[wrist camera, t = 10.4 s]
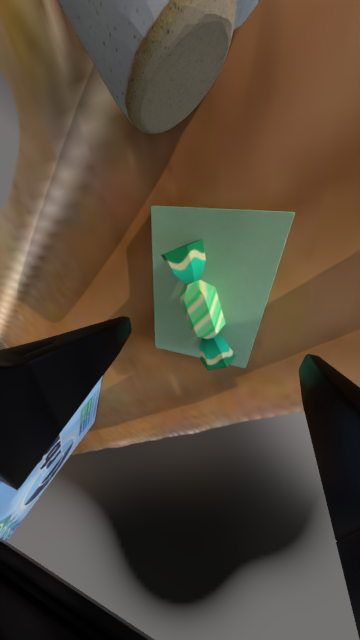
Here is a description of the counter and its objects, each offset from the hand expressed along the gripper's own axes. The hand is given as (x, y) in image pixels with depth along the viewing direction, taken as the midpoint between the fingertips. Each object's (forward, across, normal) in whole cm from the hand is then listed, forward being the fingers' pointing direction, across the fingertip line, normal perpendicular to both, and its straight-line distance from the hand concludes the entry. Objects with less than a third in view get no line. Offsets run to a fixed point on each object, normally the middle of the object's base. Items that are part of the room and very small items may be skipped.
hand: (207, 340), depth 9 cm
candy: (+10, +2, +2) cm, 10 cm away
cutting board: (+11, +2, +2) cm, 11 cm away
